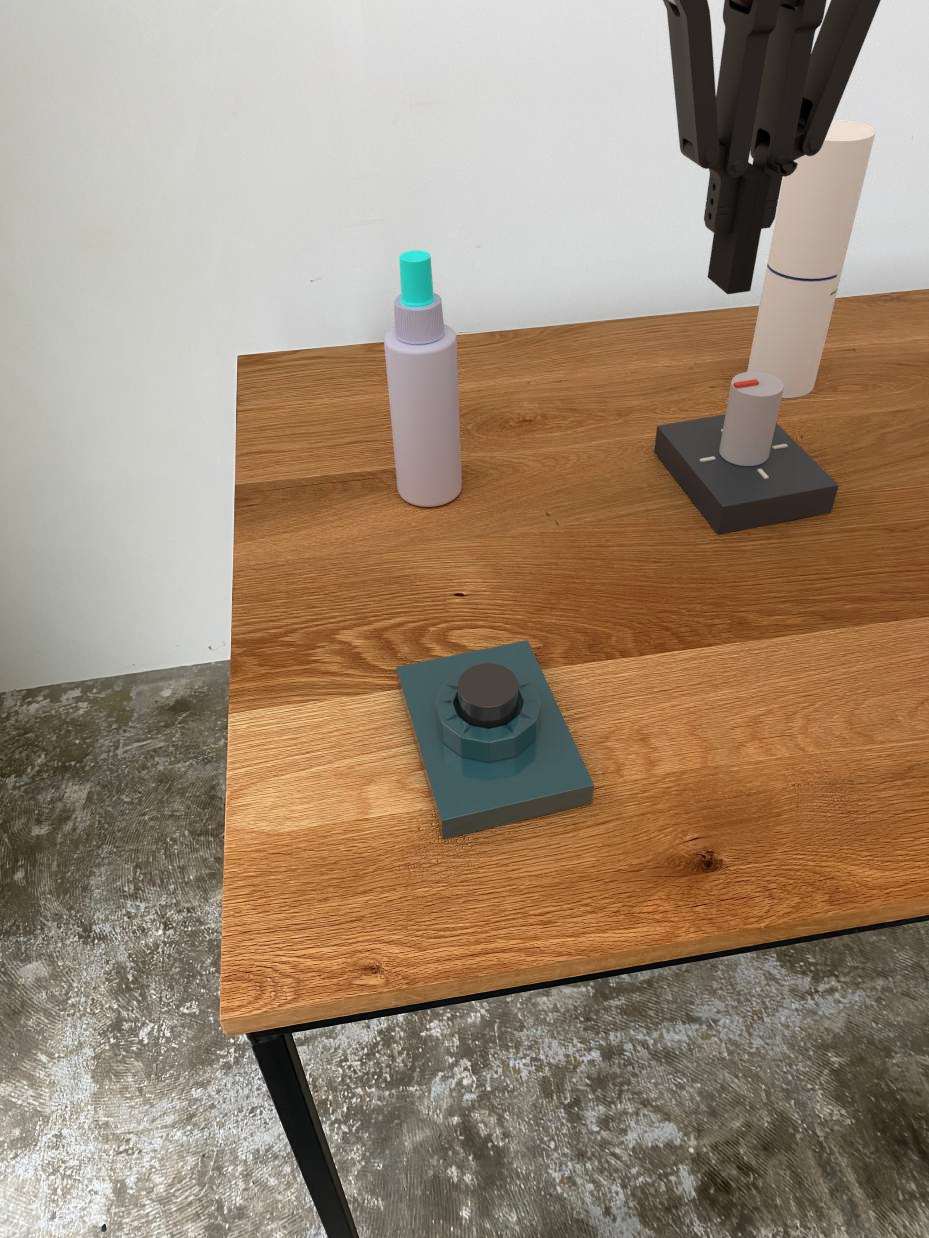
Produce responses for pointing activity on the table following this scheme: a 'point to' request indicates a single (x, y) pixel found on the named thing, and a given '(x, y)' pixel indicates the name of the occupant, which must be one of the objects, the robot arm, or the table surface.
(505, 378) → the table surface
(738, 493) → the dial base
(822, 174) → the cylindrical container
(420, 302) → the spray bottle
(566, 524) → the table surface
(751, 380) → the tap dial
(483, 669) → the dark grey round knob
